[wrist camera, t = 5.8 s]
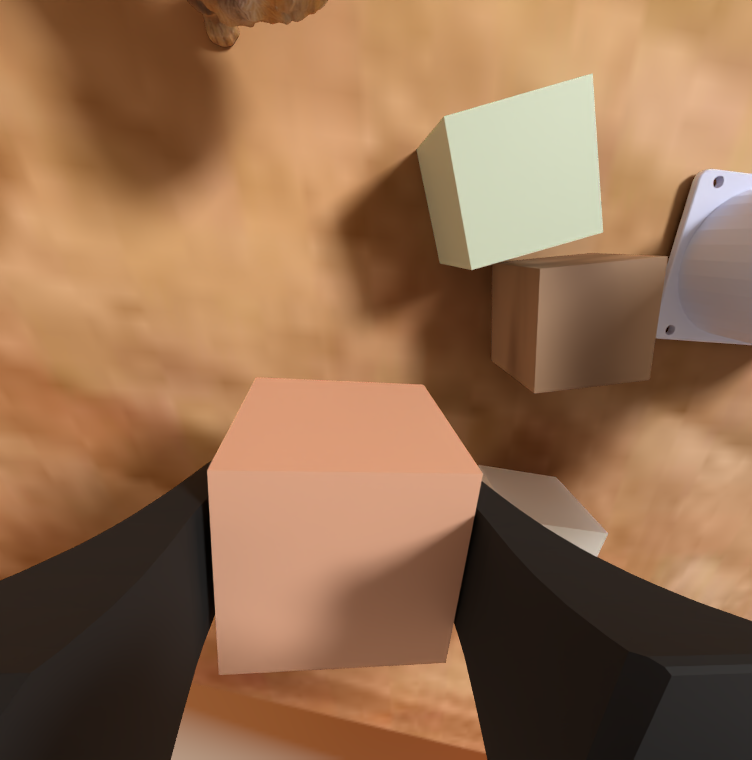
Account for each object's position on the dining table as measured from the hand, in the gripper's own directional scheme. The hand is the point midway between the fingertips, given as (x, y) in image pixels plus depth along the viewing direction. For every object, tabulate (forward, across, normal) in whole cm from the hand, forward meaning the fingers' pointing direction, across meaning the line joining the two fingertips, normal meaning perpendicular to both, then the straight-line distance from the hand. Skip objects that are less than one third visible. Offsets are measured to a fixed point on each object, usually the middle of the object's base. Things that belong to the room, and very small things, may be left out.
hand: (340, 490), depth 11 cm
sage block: (+10, -6, -9) cm, 15 cm away
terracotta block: (+2, 0, 0) cm, 2 cm away
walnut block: (+10, -10, -4) cm, 15 cm away
